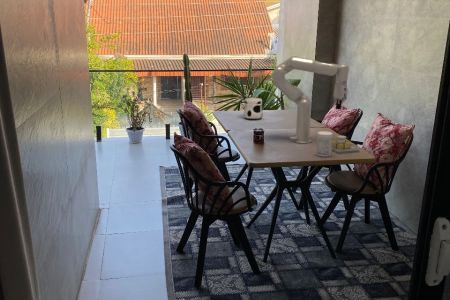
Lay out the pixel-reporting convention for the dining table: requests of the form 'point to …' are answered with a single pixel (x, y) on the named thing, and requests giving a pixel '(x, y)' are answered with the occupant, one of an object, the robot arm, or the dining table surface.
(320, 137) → the supplement tub
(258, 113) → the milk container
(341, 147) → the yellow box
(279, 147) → the dining table surface
